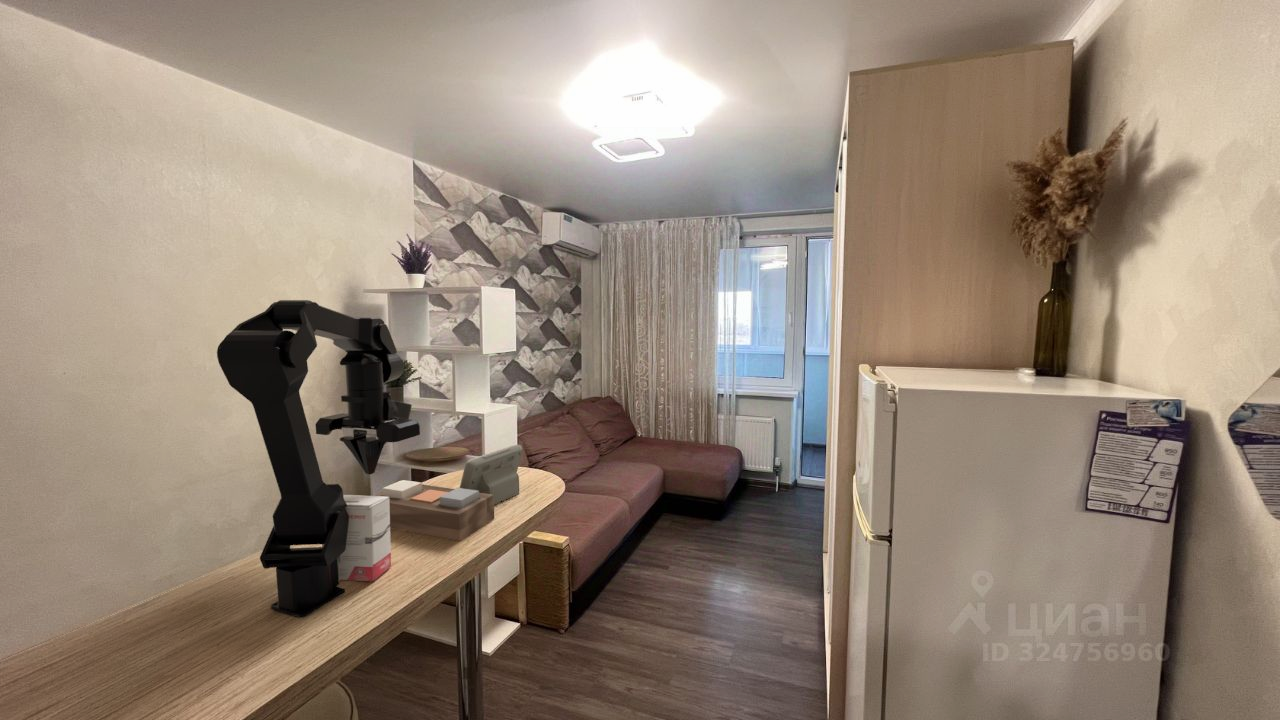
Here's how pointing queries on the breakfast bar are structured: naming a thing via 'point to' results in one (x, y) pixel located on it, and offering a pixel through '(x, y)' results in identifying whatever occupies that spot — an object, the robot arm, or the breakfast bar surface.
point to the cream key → (402, 489)
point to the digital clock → (494, 473)
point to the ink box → (366, 538)
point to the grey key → (459, 498)
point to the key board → (440, 515)
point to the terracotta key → (429, 496)
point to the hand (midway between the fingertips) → (370, 473)
